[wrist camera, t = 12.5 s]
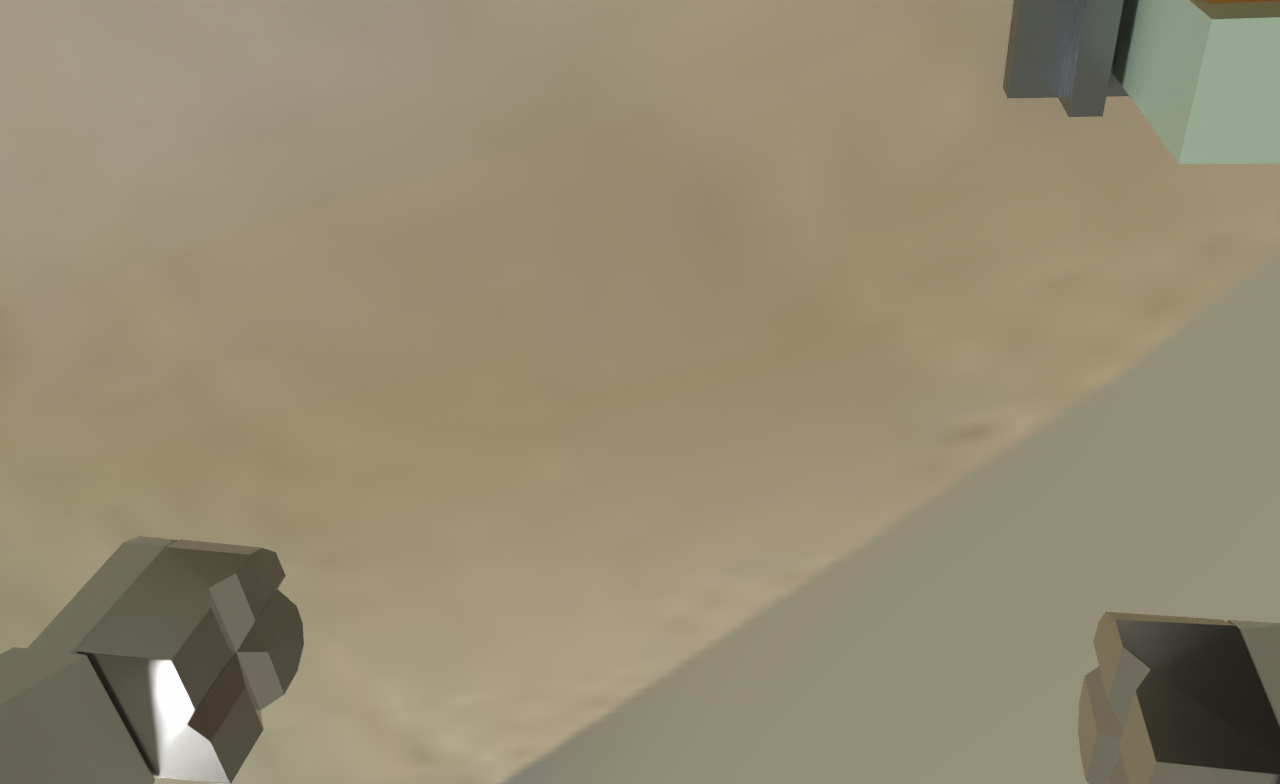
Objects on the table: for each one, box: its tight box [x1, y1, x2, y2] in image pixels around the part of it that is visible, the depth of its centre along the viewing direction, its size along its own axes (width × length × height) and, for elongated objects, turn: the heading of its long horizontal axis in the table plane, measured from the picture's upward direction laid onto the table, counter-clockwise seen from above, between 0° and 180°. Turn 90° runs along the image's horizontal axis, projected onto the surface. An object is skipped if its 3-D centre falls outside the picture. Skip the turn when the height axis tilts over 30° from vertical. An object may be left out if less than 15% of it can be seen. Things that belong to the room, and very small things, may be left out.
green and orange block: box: [1114, 0, 1280, 164], centre depth 28 cm, size 4×4×8 cm
